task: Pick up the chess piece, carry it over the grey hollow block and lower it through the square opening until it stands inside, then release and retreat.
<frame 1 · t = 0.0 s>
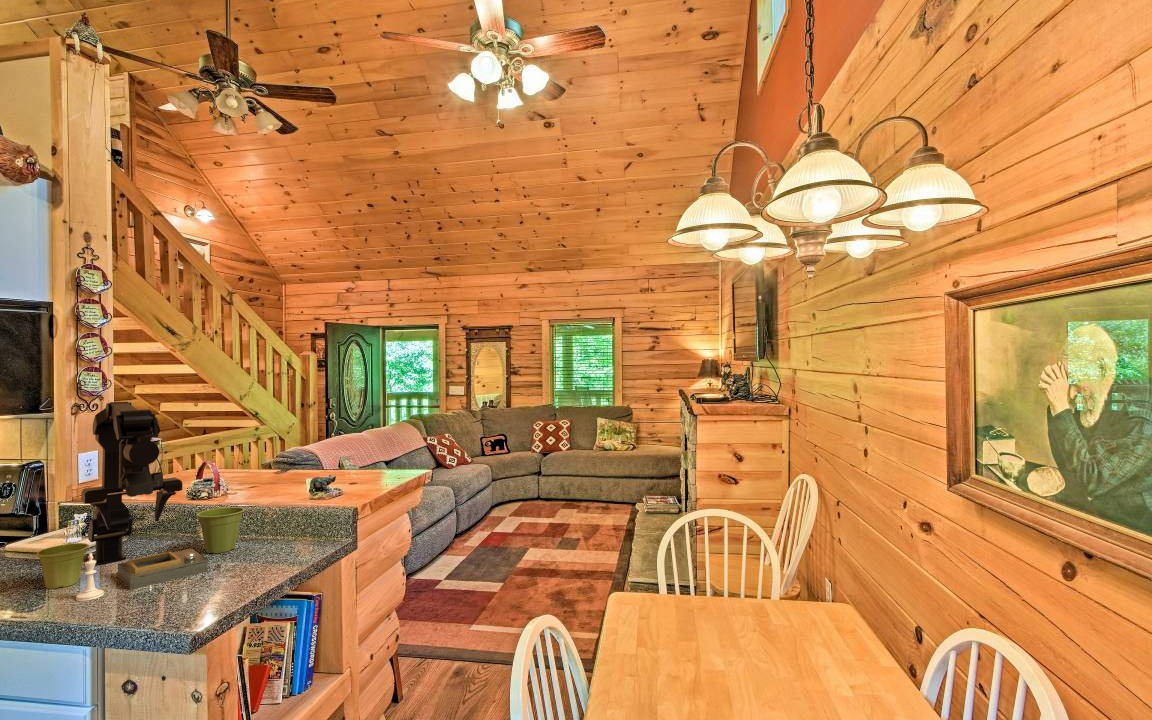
hand: (133, 525, 134), 15 cm above the table, fingers open, 9 cm apart
grey hollow block: (163, 573, 142), on the table
chess piece: (90, 597, 128), on the table
plant pot 2: (220, 550, 161), on the table
plant pot: (62, 585, 135), on the table
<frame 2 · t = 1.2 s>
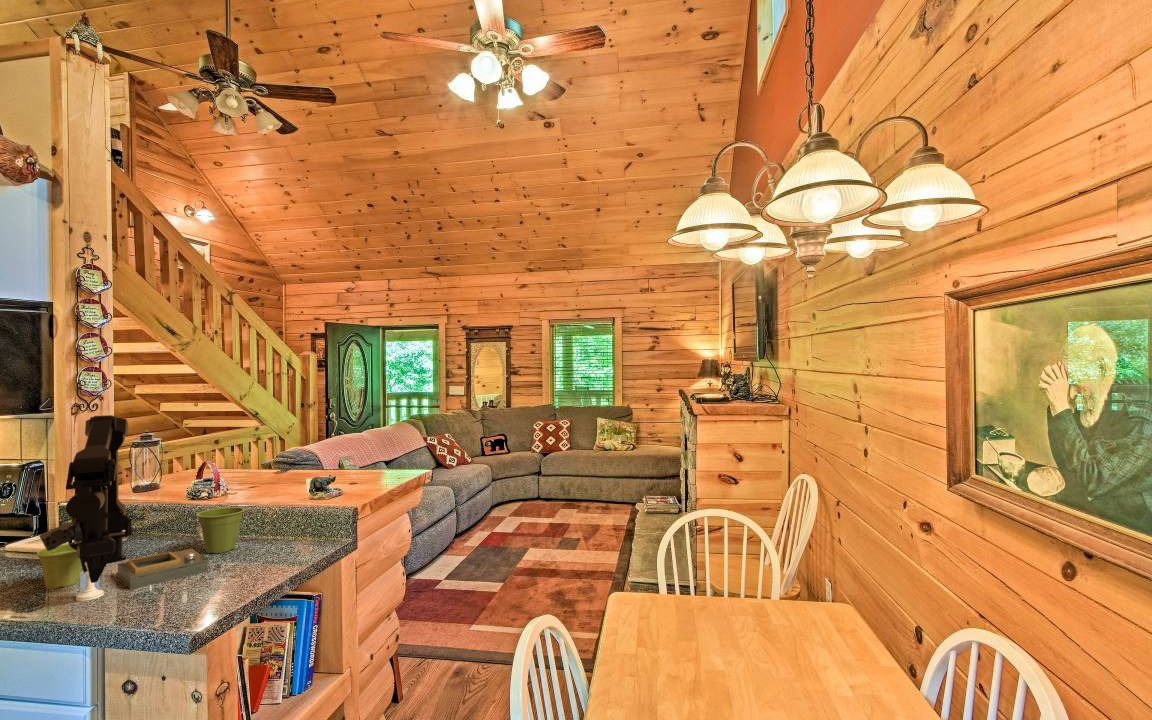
hand: (90, 577, 128), 4 cm above the table, fingers open, 9 cm apart
nothing on the table moved.
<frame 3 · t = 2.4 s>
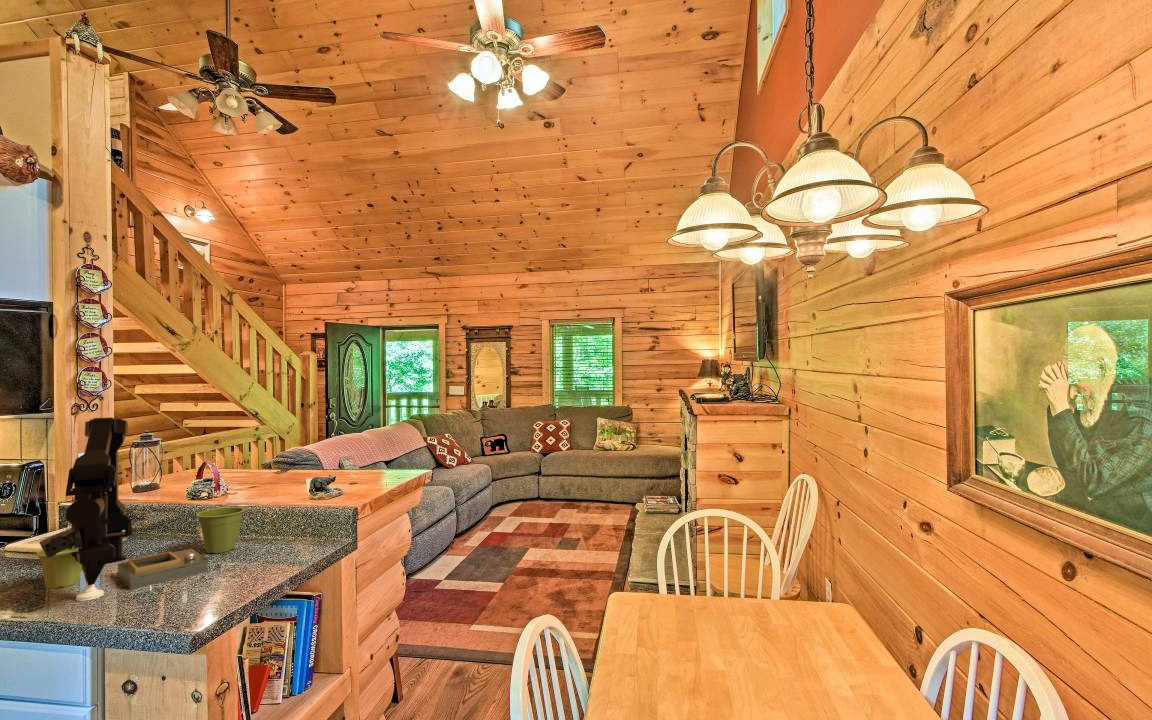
hand: (90, 583, 128), 3 cm above the table, fingers closed on chess piece
chess piece: (90, 597, 128), on the table, touching gripper
everything else where it was.
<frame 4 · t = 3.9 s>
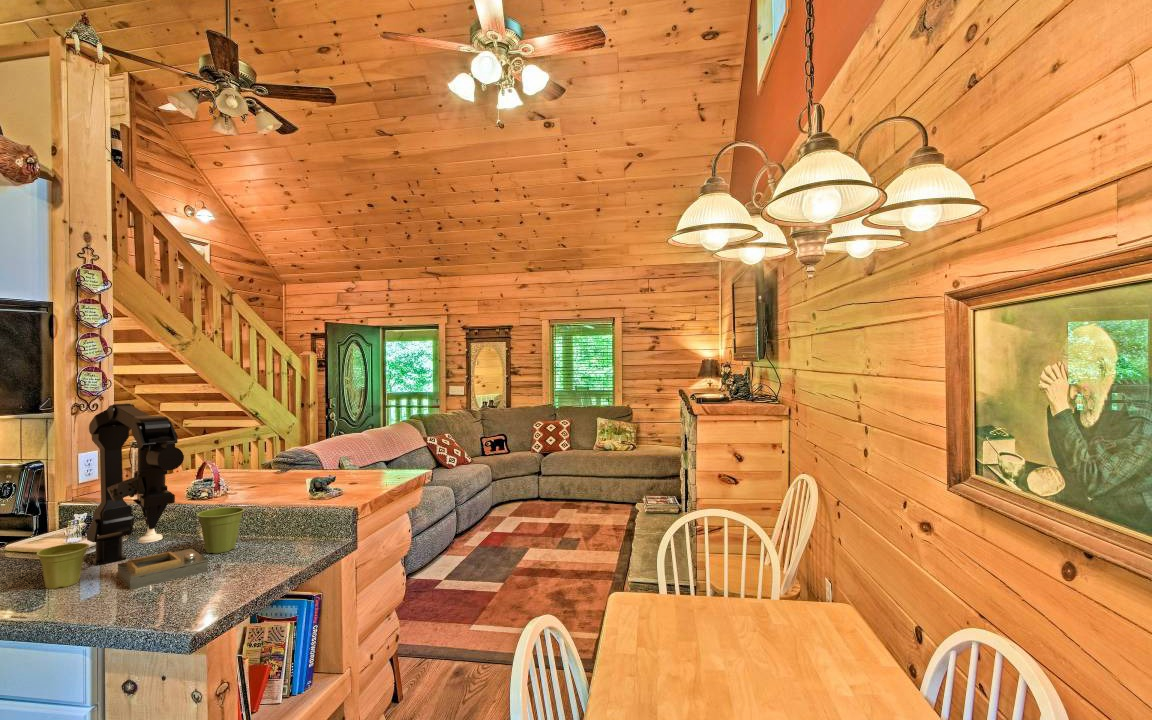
hand: (150, 528, 140), 12 cm above the table, fingers closed on chess piece
chess piece: (150, 540, 140), point 9 cm above the table, touching gripper
everything else where it was.
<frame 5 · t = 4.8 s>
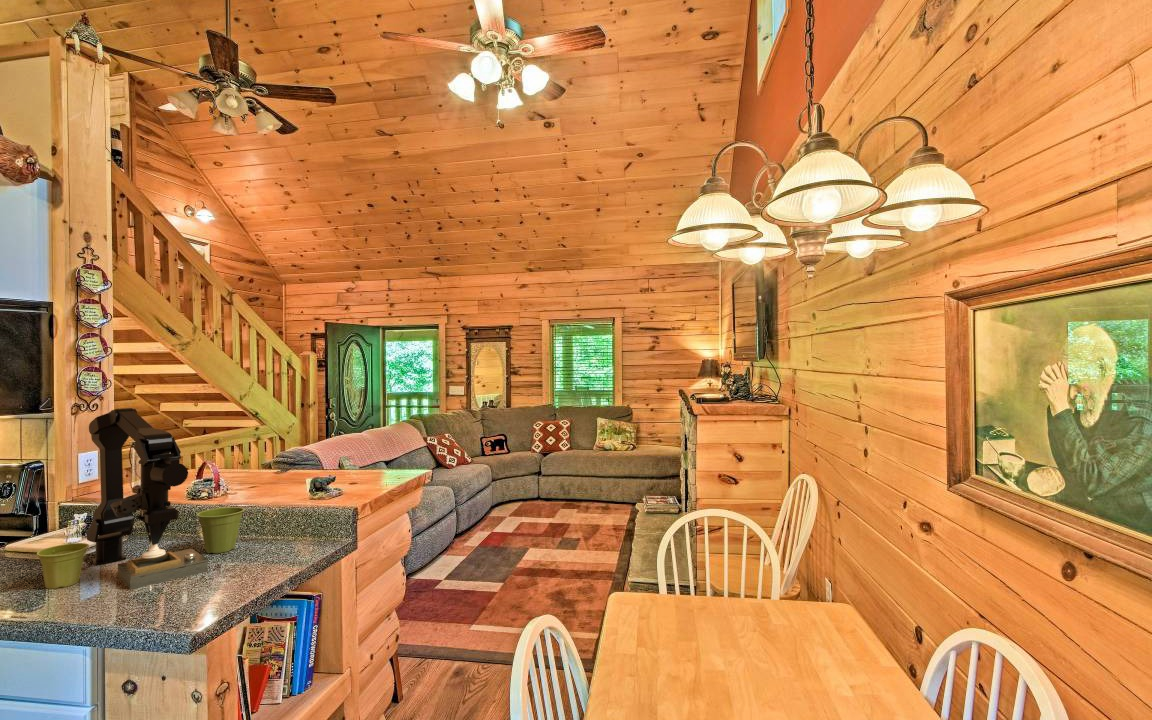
hand: (153, 543, 141), 8 cm above the table, fingers closed on chess piece
chess piece: (153, 556, 141), point 5 cm above the table, touching gripper
everything else where it was.
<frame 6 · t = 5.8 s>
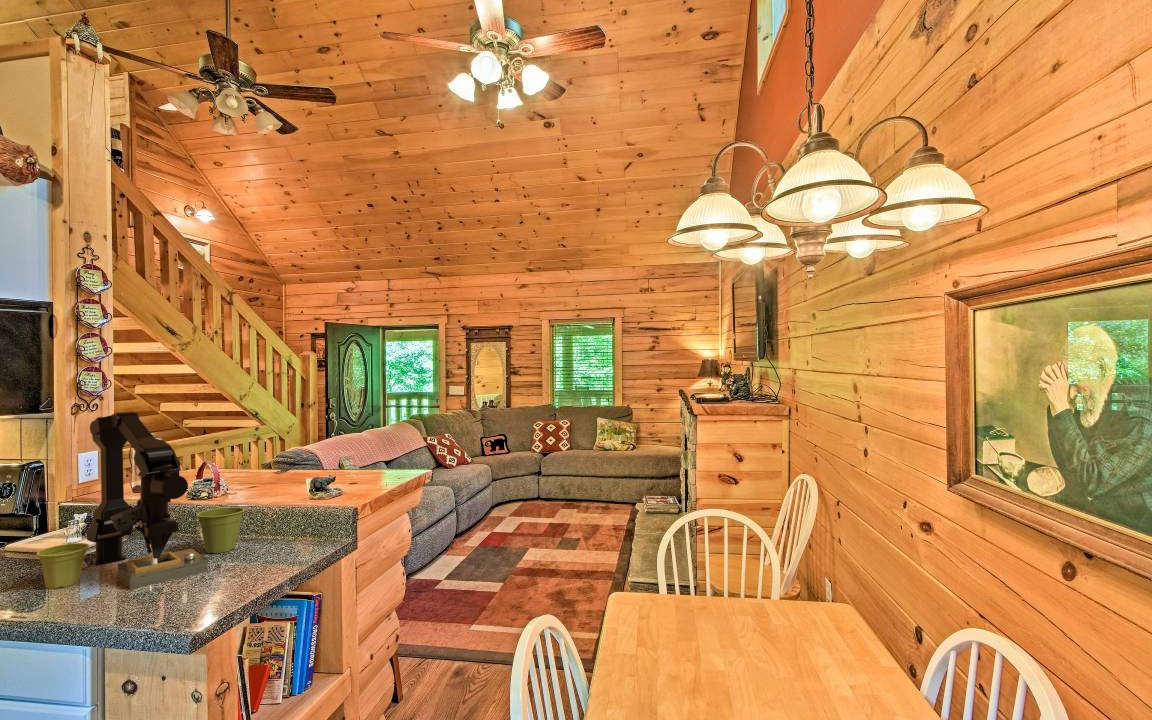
hand: (153, 555, 141), 5 cm above the table, fingers open, 5 cm apart
chess piece: (154, 576, 141), resting in grey hollow block
everything else where it was.
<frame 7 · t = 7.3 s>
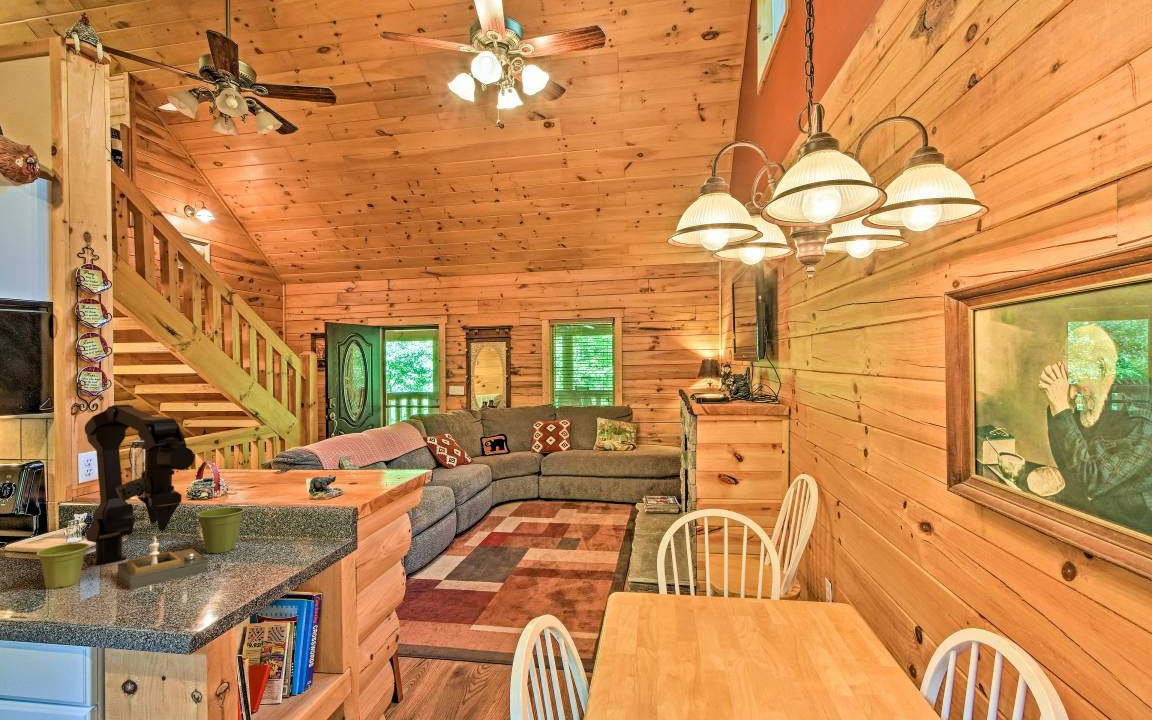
hand: (157, 526, 144), 12 cm above the table, fingers open, 9 cm apart
nothing on the table moved.
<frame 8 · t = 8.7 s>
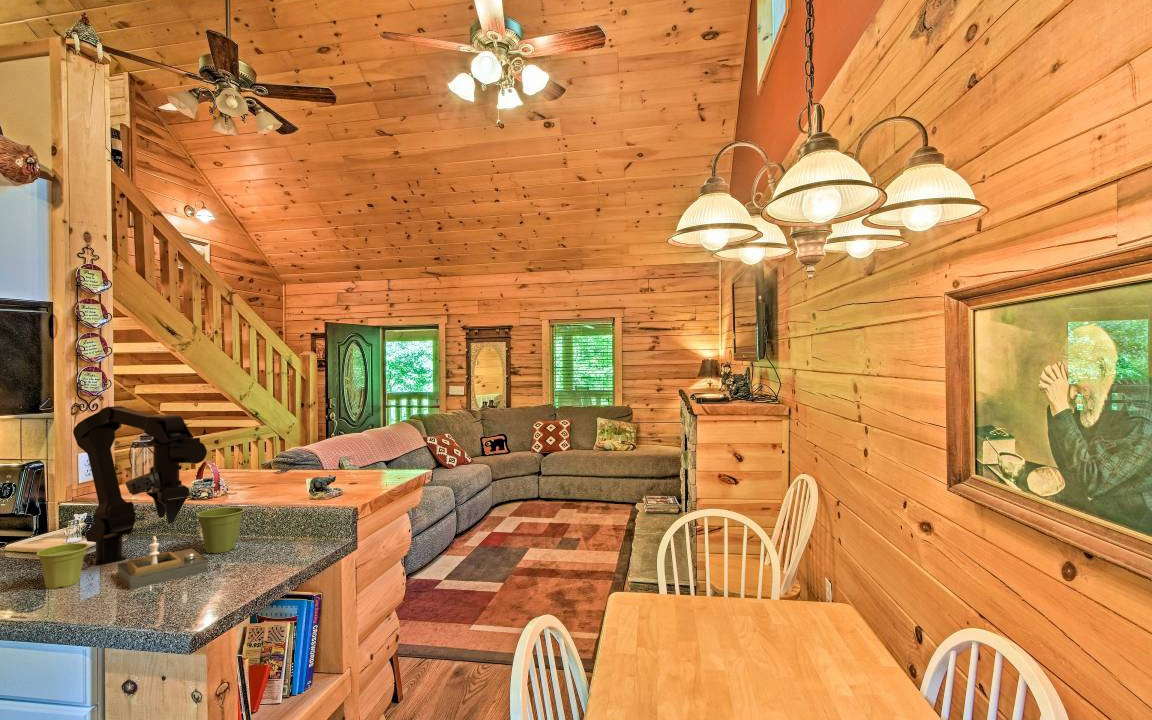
hand: (165, 520, 149), 12 cm above the table, fingers open, 9 cm apart
nothing on the table moved.
at the end: chess piece 0.1 cm from the target spot on the grey hollow block, point 0.0 cm above the grey hollow block's base; chess piece tilted 0°; the gripper is holding nothing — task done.
